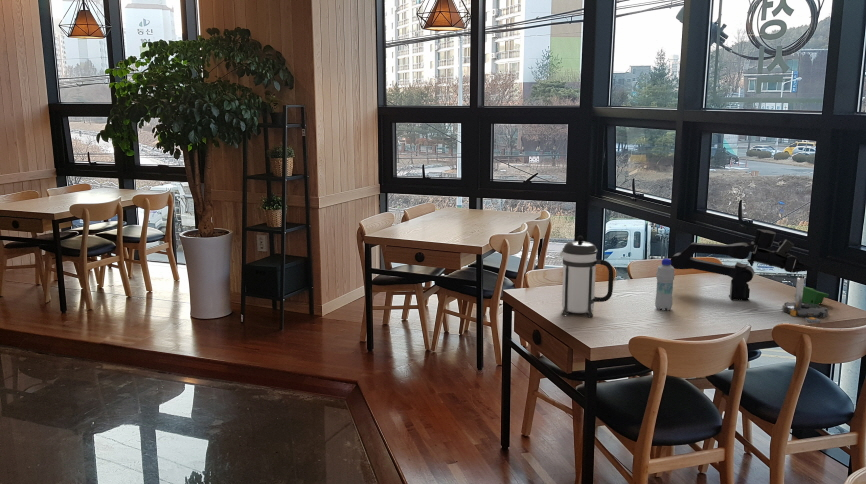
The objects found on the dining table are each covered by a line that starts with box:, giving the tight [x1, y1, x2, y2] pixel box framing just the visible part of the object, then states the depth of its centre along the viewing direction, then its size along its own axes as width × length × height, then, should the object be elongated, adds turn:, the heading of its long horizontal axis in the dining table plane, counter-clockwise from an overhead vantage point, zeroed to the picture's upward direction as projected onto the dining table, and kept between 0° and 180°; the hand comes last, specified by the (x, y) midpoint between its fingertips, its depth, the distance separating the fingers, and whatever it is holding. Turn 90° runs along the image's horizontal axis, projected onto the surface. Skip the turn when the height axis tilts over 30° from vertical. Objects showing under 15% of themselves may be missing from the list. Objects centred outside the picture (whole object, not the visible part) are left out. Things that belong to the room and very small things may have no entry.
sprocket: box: [781, 277, 829, 319], centre depth 268 cm, size 15×15×14 cm
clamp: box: [802, 285, 830, 306], centre depth 283 cm, size 12×6×9 cm, turn 6°
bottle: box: [654, 258, 676, 312], centre depth 273 cm, size 7×7×20 cm
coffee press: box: [558, 235, 614, 318], centre depth 269 cm, size 17×16×30 cm
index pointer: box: [804, 317, 821, 324], centre depth 259 cm, size 4×3×1 cm
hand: (810, 268), depth 276 cm, fingers open, 9 cm apart
